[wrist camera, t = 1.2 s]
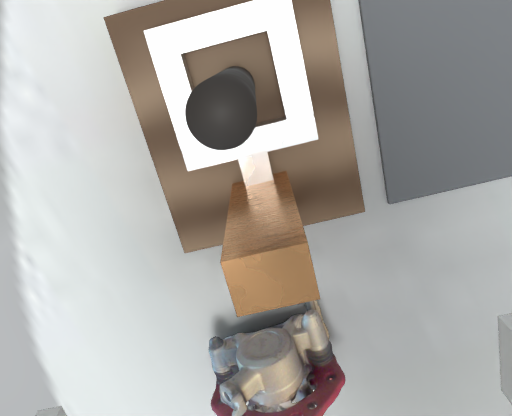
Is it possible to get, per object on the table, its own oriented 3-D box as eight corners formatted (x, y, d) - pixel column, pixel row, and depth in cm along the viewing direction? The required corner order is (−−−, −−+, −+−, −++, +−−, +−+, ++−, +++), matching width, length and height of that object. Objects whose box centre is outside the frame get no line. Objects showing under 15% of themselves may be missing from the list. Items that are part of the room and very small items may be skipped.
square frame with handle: (328, 200, 30) (373, 287, 19) (210, 228, 31) (186, 327, 20) (287, -6, 25) (315, -54, 14) (149, 32, 26) (71, 15, 15)
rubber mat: (577, 158, 32) (581, 160, 32) (387, 202, 34) (389, 204, 33) (583, -73, 27) (588, -75, 27) (357, -12, 28) (358, -13, 28)
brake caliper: (234, 436, 39) (199, 481, 28) (213, 319, 42) (174, 317, 31) (352, 411, 38) (366, 448, 27) (321, 294, 42) (322, 282, 30)
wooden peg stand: (355, 198, 33) (450, 329, 17) (190, 237, 34) (137, 394, 19) (315, -34, 28) (402, -155, 12) (118, 20, 29) (-50, -21, 13)
